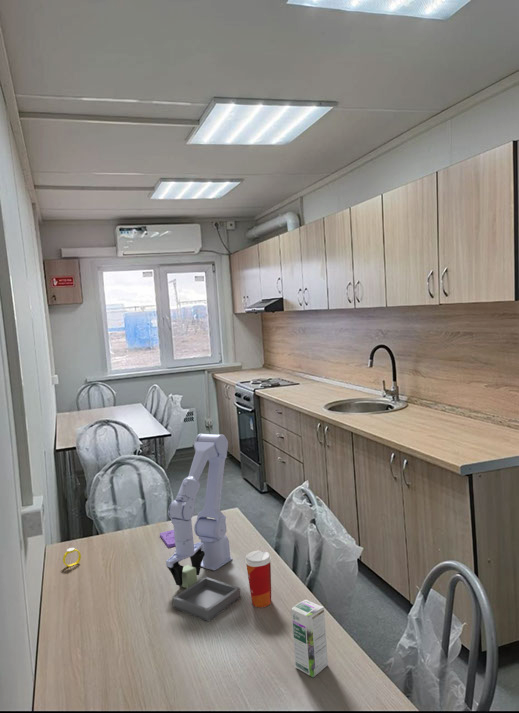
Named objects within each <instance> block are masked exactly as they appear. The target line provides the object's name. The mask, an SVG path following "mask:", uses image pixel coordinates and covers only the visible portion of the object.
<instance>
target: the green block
mask: <svg viewBox="0 0 519 713" xmlns="http://www.w3.org/2000/svg"><path fill="white" fill-rule="evenodd" d="M183 566H184V567H183V571H182V586H181V587H183V588H185V589H187V588H189V587H190V586H192V585H193V584H195V583H196V582H198V575H197V574H196V568H195V567H192V565H189V564H186V565H183Z"/></svg>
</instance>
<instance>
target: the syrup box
mask: <svg viewBox="0 0 519 713" xmlns="http://www.w3.org/2000/svg"><path fill="white" fill-rule="evenodd" d="M290 612H291V615H290V616H291V625H292V638H293V640H292V641H293V653H294V666H295V669H298V670H299V671H301V672H303V673H305V674H306V675H308V676H309V677H312V678H315V677H316V676H317V675H318V674H319V673H320V672H322V671H323V670H324V669H325V668H326V667H328V666H329V664H328V663H329V661H328V647H327V646H328V645H327V644H328V643H327V632H326V631H327V630H326V617H325V607H324V606H323V605H320V604H317V603H315V602H313V601H311V600H310V599H309V600H308V599H304V600H301V601H300V602H298V603H297V604H296V605H294V606H293V607H292V608H291V611H290Z"/></svg>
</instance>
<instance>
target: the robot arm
mask: <svg viewBox="0 0 519 713" xmlns="http://www.w3.org/2000/svg"><path fill="white" fill-rule="evenodd" d="M228 446H229V441H228V439H227V437H226V435H224V434H223V433H222V434H214V433H213V434H212V433H211V434H210V433H202V432H201V433H199V434H197V435H196V438H195V441H194V444H193V447H194V448H193V449H194V452H195V453H194V456H193V460H192V462H191V466H190V468H189V473H188V476H186V477H185V478H184V479H183V480H182V482H181V485H180V487H179V490H178V492H177V495H176V497H175V500H173V501H172V502H170V504H169V507H168V511H167V516H168V517H169V519H170V520H171V523H172V525H173V530H174V537H175V546H174V547H175V549H174V553H173V554H172V555H171V556H170V557H169V558H168V559H166V560H165V562H166V564H165V565H166V568H167V569H168V570H169V572H170V573H171V575H172V577H173V579H174V582H175V585H176V586H178V587H183V586H182V571H183V567H184V566H185V565H181V563H180V562H181V561H183V560H185V559H188V558H190V562H191V566H192V567H195V568H196V574H197V576H199V575H200V572H201V568H204V569H207V570H210V571H213V572H214V571H216V570H218V569H220V568H221V567H223V566H224V565H226V564H227V563H229V562H230V561H232V560H233V557H231V549H230V540H229V537H228V536H227V535H226V533H227V523H226V521H227V520H226V518H227V517H226V515H225V514H224V513H223V512H222V511H221V510H220V508H221V501H222V500H221V498H222V491H223V490H222V489H223V481H224V472H225V462H226V461H225V460H226V459H227V457H228V449H229V448H228ZM207 462H208V464H209V465H208V471H207V482H206V489H205V498H204V504H203V505H204V507H203V509H202V510H200V511H199V512H198V513H197V517H196V520H195V522H194V527H193V523H192V522H193V521H192V519H193V517H194V514H195V509H196V508H195V505H196V501H195V500H196V498H197V494H198V491H199V490H200V487H201V484H200V482H199V480H200V477H201V475H202V474H203V471H204V469H205V467H206V464H207ZM193 530H194V531H193ZM193 532H194V533H195V534H193ZM194 535H196V536H197V537H198V540H200V542H199V541H198V542H196V543H194V542H195V541H194Z"/></svg>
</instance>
